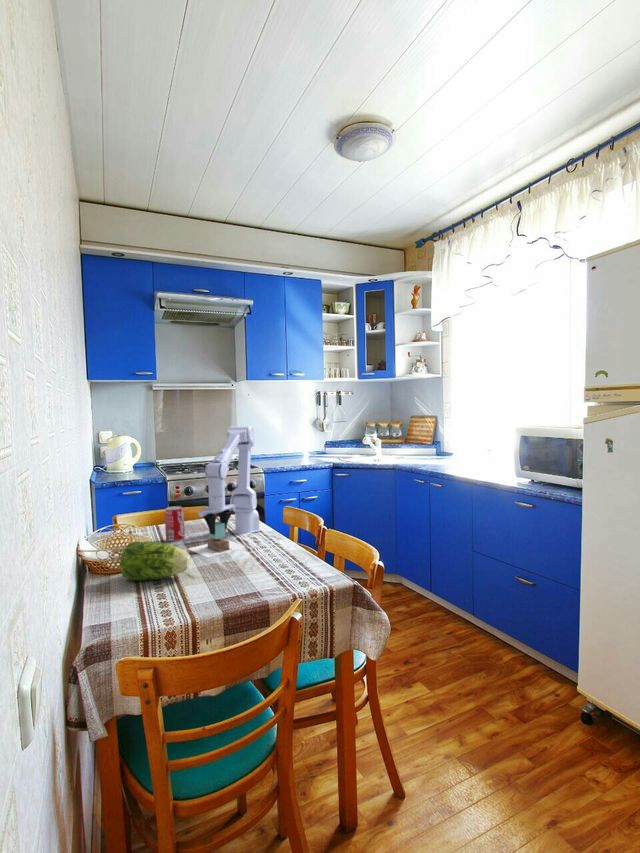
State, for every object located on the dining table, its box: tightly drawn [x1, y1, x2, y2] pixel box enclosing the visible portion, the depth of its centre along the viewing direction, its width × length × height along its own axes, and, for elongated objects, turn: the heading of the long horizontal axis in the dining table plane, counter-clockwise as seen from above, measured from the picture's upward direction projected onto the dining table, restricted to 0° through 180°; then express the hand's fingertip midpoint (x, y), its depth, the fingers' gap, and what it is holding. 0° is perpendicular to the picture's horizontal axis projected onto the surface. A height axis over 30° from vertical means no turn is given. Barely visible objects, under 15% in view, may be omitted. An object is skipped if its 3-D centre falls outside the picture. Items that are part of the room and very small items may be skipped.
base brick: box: [207, 537, 230, 552], centre depth 166 cm, size 4×8×3 cm, turn 45°
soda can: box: [164, 505, 186, 543], centre depth 179 cm, size 7×7×13 cm
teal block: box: [208, 520, 226, 539], centre depth 166 cm, size 4×4×5 cm
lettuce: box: [119, 541, 191, 581], centre depth 139 cm, size 12×21×11 cm, turn 90°
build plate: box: [188, 538, 246, 558], centre depth 167 cm, size 16×14×1 cm
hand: (217, 532), depth 166 cm, fingers closed on teal block, 4 cm apart
